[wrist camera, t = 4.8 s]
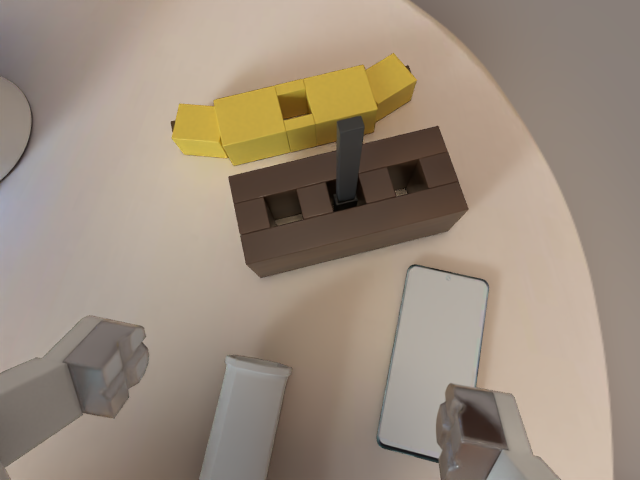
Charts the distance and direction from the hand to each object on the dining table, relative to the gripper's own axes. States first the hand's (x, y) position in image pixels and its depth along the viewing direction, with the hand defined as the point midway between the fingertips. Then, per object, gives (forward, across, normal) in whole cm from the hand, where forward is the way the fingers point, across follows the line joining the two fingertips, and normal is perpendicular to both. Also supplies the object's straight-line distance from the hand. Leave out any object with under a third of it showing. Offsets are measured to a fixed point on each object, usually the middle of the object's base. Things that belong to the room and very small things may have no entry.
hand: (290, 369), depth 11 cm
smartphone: (+18, -9, +16) cm, 26 cm away
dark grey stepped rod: (+26, 0, +8) cm, 27 cm away
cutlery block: (+26, 0, +8) cm, 27 cm away
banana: (+32, +6, +2) cm, 32 cm away
